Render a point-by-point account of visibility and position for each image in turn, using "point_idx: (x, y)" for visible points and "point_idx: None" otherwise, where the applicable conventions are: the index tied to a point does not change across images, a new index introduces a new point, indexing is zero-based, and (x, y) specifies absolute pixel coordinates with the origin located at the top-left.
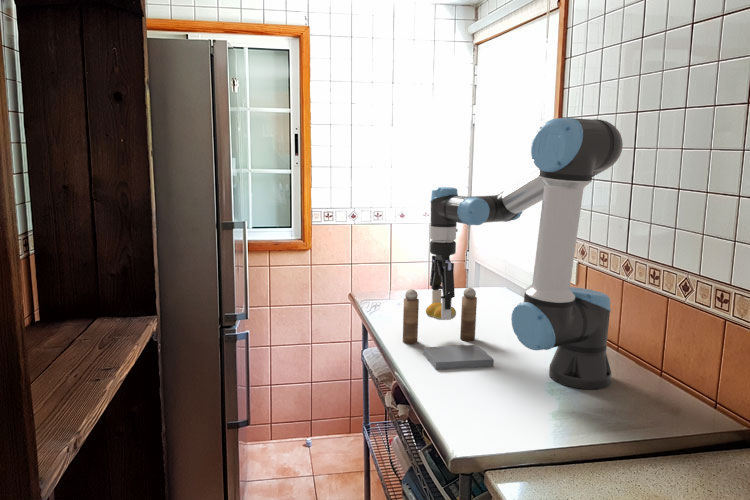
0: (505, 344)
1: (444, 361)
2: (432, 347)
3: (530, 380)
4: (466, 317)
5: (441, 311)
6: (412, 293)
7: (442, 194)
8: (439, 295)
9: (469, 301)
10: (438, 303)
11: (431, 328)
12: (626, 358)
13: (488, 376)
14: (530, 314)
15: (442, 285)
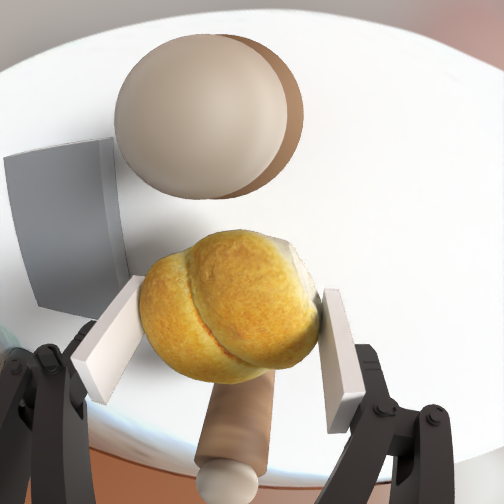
0: (195, 391)
1: (8, 182)
2: (95, 173)
3: (13, 319)
4: (216, 385)
5: (127, 301)
6: (115, 117)
7: None
8: (327, 395)
9: (197, 448)
10: (238, 341)
11: (403, 264)
12: (134, 460)
13: (6, 260)
14: None
15: (48, 438)
